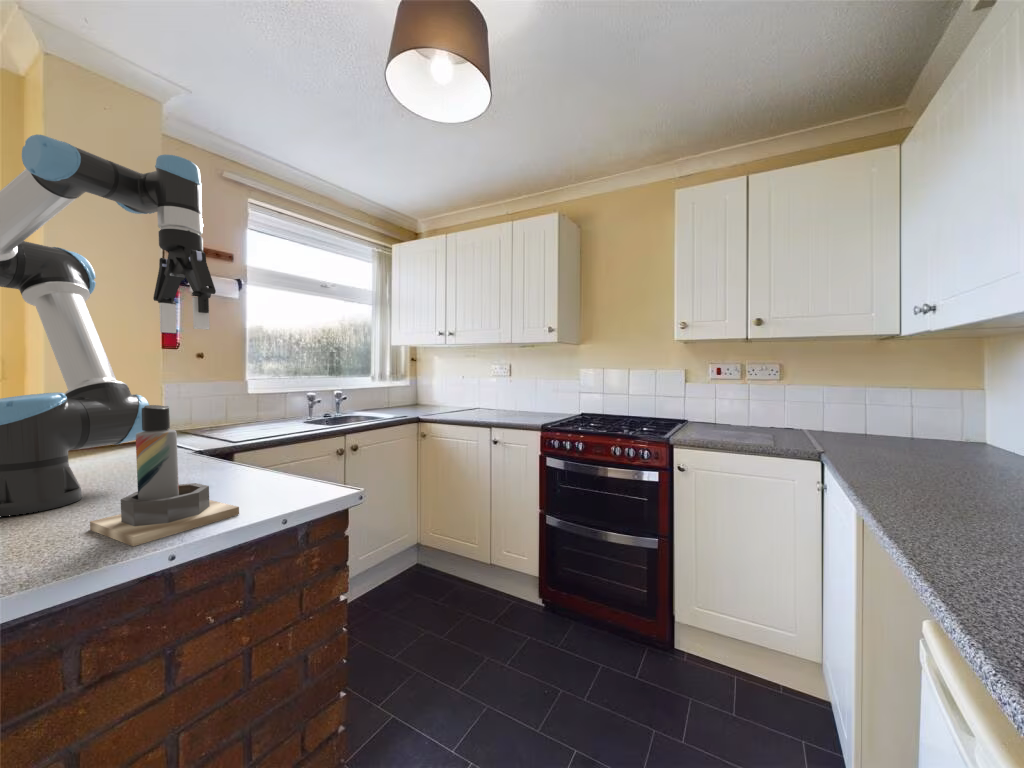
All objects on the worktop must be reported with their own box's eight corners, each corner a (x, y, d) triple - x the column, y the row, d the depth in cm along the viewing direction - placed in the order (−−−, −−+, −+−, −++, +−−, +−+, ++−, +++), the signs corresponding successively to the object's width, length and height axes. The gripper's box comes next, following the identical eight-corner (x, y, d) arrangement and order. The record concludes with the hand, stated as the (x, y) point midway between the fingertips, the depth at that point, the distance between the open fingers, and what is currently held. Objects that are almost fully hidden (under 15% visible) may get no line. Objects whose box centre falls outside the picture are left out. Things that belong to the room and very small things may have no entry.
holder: (90, 529, 72) (88, 498, 72) (194, 503, 86) (193, 477, 86) (133, 546, 65) (131, 511, 65) (239, 514, 79) (238, 486, 79)
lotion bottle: (164, 507, 79) (160, 403, 79) (187, 509, 78) (183, 404, 77) (130, 517, 74) (126, 406, 73) (154, 520, 72) (149, 406, 72)
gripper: (232, 228, 87) (236, 328, 87) (172, 246, 98) (175, 335, 99) (192, 216, 80) (196, 325, 81) (131, 237, 91) (135, 332, 92)
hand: (184, 331), depth 90 cm, fingers open, 13 cm apart
